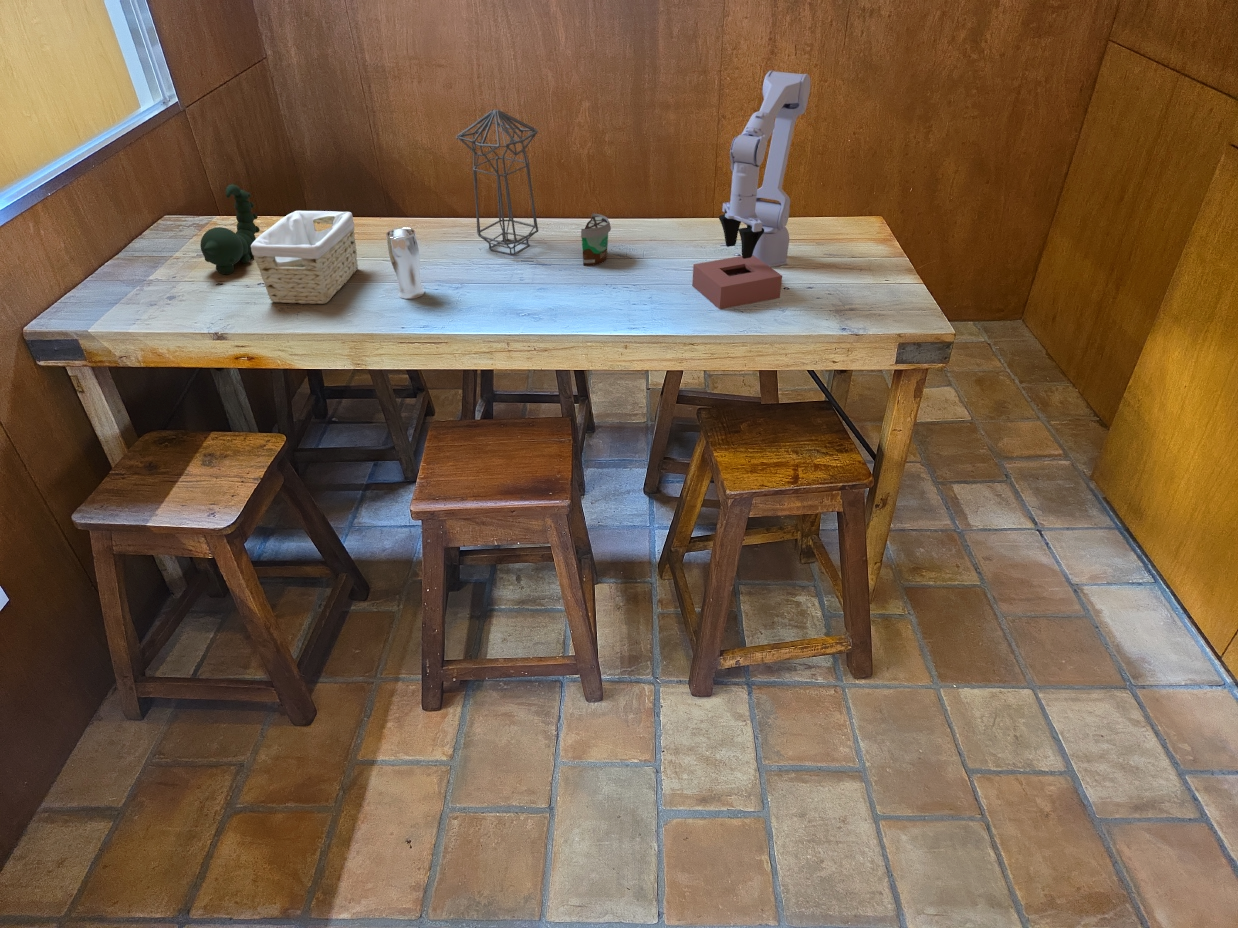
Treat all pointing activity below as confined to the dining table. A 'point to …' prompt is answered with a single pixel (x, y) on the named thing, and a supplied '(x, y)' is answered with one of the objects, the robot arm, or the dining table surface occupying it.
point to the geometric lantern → (487, 124)
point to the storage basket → (306, 256)
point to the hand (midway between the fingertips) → (738, 251)
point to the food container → (595, 240)
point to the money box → (736, 281)
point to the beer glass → (405, 261)
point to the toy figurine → (232, 236)
